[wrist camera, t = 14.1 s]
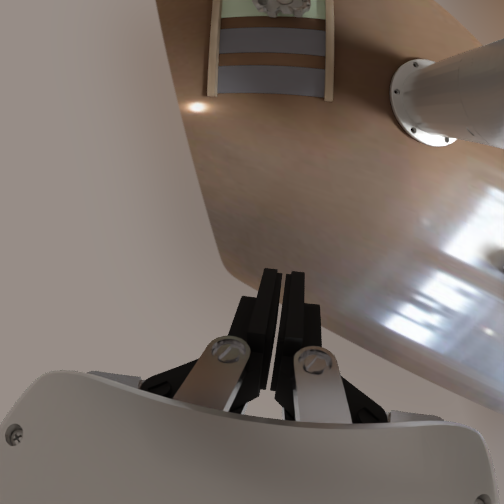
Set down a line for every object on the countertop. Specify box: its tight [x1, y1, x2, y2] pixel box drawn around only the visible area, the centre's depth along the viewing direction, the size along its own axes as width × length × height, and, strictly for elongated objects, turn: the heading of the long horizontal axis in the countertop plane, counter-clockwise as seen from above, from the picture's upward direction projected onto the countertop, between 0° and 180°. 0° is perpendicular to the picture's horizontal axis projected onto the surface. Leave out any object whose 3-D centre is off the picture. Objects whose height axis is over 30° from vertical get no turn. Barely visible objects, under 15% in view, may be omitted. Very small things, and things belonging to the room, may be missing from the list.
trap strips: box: [217, 27, 326, 98], centre depth 29 cm, size 14×10×1 cm
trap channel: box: [207, 0, 334, 102], centre depth 25 cm, size 16×25×2 cm, turn 178°
